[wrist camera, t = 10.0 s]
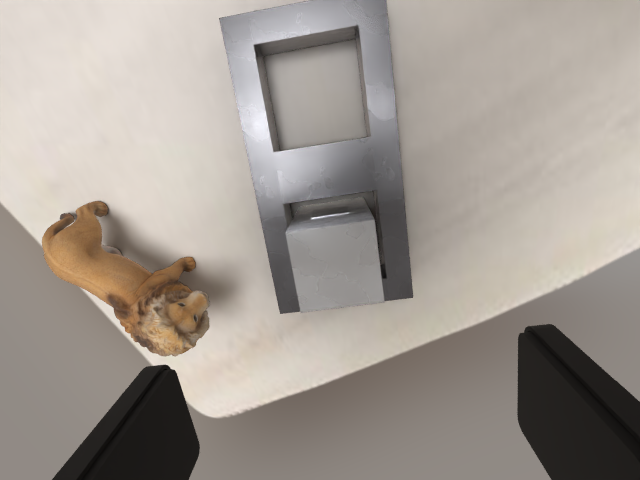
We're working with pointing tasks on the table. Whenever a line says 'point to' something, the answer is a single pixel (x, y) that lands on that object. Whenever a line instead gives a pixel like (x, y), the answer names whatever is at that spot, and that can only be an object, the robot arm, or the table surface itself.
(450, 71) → the table surface
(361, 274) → the block
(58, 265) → the lion figurine
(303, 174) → the rail
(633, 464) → the robot arm
